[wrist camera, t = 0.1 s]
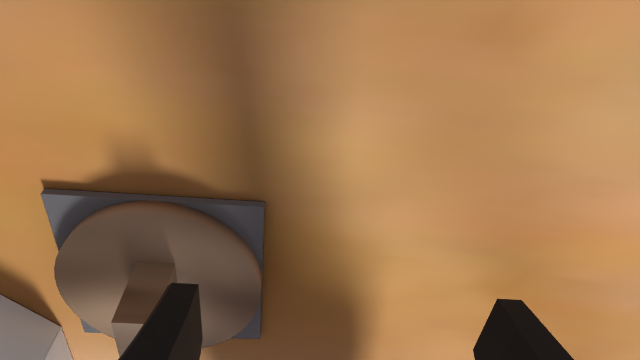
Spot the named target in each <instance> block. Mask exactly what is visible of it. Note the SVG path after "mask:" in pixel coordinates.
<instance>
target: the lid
mask: <svg viewBox="0 0 640 360" xmlns="http://www.w3.org/2000/svg"><path fill="white" fill-rule="evenodd" d="M54 271H55V280H56V284H57V287H58V290H59V292H60V294H61V296H62V298H63V299H64V301H65V302H66V304H67V305H68V306H69V307H70V308H71V310H72V311H73V312H74V313H75V314H76V315H77V316H78V317H80V318H81V319H82V320H83V321H84V322H86V323H87V324H88V325H90V326H91V327H93V328H95V329H96V330H98V331H100V332H101V333H103V334H105V335H107V336H109V337H112V338H114V339H115V341H116V344H117V348H118V352H119V356H120V357H121V355H122V354H123V353H124V351H125V350H126V349H127V347H128V346H129V344H130V343H131V342H132V340H133V339H134V338H135V336H136V335H137V333H138V332H139V330H140V329H141V327H142V326H143V324H144V323H145V321H146V320H147V319H148V317H149V315H150V314H151V312H152V311H153V309H154V308H155V306H156V304H157V303H158V301H159V300H160V298H161V296H162V295H163V293H164V291H165V289H166V288H167V286H168V285H170V284H171V283H187V284H199V296H200V309H201V322H202V335H203V340H202V346H201V348H205V347H209V346H213V345H216V344H218V343H221V342H224V341H226V340H228V339H230V338H232V337H233V336H235V335H236V334H238V333H239V332H240V331H242V330H243V329H244V328H245V327H246V326H247V325H248V324H249V323H250V321H251V320H252V319H253V317H254V315H255V313H256V311H257V308H258V305H259V300H260V291H261V282H262V279H261V270H260V266H259V263H258V260H257V258H256V256H255V254H254V252H253V251H252V249H251V248H250V246H249V245H248V244H247V243H246V241H245V240H244V239H243V238H242V237H241V236H240V235H239V234H238V233H237V232H235V231H234V230H233V229H232V228H230V227H229V226H228V225H226V224H225V223H223V222H222V221H220V220H218V219H216V218H215V217H213V216H211V215H209V214H206V213H204V212H202V211H199V210H197V209H194V208H191V207H187V206H184V205H180V204H175V203H170V202H162V201H142V200H140V201H129V202H122V203H118V204H113V205H110V206H107V207H104V208H101V209H99V210H97V211H95V212H93V213H91V214H89V215H88V216H87V217H85V218H84V219H82V220H81V221H80V222H79V223H78V224H77V225H76V226H75V227H74V228H73V230H72V231H71V233H70V234H69V236H68V237H67V239H66V240H65V242H64V243H63V245H62V247H61V248H60V250H59V252H58V255H57V257H56V261H55V267H54Z"/></svg>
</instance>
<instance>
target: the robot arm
mask: <svg viewBox="0 0 640 360" xmlns="http://www.w3.org/2000/svg"><path fill="white" fill-rule="evenodd" d="M202 340H203V335H202V322H201V309H200V296H199V284H187V283H171V284H170V285H168V286H167V288H166V289H165V291H164V293H163V295H162V296H161V298H160V300H159V301H158V303H157V304H156V306H155V308H154V309H153V311H152V312H151V314H150V315H149V317H148V319H147V320H146V321H145V323H144V324H143V326H142V327H141V329H140V330H139V332H138V333H137V335H136V336H135V338H134V339H133V340H132V342H131V343H130V344H129V346H128V347H127V349H126V350H125V351H124V353H123V354H122V355H121V357H120V358H119V360H199V359H200V353H201V346H202ZM473 352H474V357H475V360H574V359H573V358H572V357H571V356H570V355H569V354H568V352H567V351H566V350H565V349H564V348H563V347H562V346H561V344H560V343H559V342H558V341H557V340H556V339H555V338H554V337H553V335H552V334H551V333H550V332H549V331H548V330H547V329H546V327H545V326H544V325H543V324H542V323H541V322H540V320H539V319H538V318H537V317H536V316H535V315H534V314H533V313H532V311H531V310H530V309H529V308H528V307H527V306H526V305H525V304H524V302H523V301H522V300H510V299H497V301H496V303H495V305H494V307H493V309H492V311H491V313H490V315H489V317H488V319H487V322H486V324H485V326H484V328H483V330H482V332H481V334H480V336H479V338H478V340H477V343H476V345H475V347H474V349H473Z"/></svg>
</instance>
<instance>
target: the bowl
mask: <svg viewBox="0 0 640 360" xmlns="http://www.w3.org/2000/svg"><path fill="white" fill-rule="evenodd" d="M0 360H73V358H72V355H71V353H70V350H69V347H68V344H67V342H66V339H65V336H64V333H63V330H62V327H61V326H59V325H57V324H55V323H53V322H51V321H49V320H47V319H45V318H44V317H42V316H40V315H38V314H36V313H34V312H32V311H30V310H29V309H27V308H25V307H23V306H21V305H19V304H17V303H15V302H13V301H12V300H10V299H8V298H6V297H4V296H2V295H1V294H0Z"/></svg>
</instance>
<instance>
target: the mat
mask: <svg viewBox="0 0 640 360" xmlns="http://www.w3.org/2000/svg"><path fill="white" fill-rule="evenodd" d="M41 196H42V200H43V203H44V206H45V209H46V212H47V215H48V218H49V222H50V225H51V228H52V231H53V234H54V237H55V240H56V244H57V247H58V250H60V248H61V247H62V245H63V243H64V242H65V240H66V239H67V237H68V236H69V234H70V233H71V231H72V230H73V228H74V227H75V226H76V225H77V224H78V223H79V222H80V221H81V220H82V219H84V218H85V217H87V216H88V215H89V214H91V213H93V212H95V211H97V210H99V209H101V208H104V207H107V206H110V205H113V204H118V203H122V202H129V201H140V200H142V201H162V202H170V203H175V204H180V205H184V206H187V207H191V208H194V209H197V210H199V211H202V212H204V213H206V214H209V215H211V216H213V217H215V218H216V219H218V220H220V221H222V222H223V223H225V224H226V225H228V226H229V227H230V228H232V229H233V230H234V231H235V232H237V233H238V234H239V235H240V236H241V237H242V238H243V239H244V240H245V241H246V243H247V244H248V245H249V246H250V248H251V249H252V251H253V252H254V254H255V256H256V258H257V260H258V263H259V266H260V270H261V279H262V267H263V236H264V206H265V202H258V201H242V200H225V199H209V198H193V197H176V196H160V195H143V194H127V193H110V192H94V191H78V190H61V189H44V190H43V191H42V193H41ZM261 297H262V282H261V291H260V300H259V305H258V308H257V311H256V313H255V315H254V317H253V319H252V320H251V321H250V323H249V324H248V325H247V326H246V327H245V328H244V329H243V330H242V331H240V332H239V333H238V334H236V335H235V336H233V337H232V338H242V339H260V328H261ZM80 319H81V318H80ZM81 322H82V325H83V329H84V332H90V333H101V332H100V331H98V330H96V329H95V328H93V327H91V326H90V325H88V324H87V323H86V322H84V321H83V320H82V319H81Z"/></svg>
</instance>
